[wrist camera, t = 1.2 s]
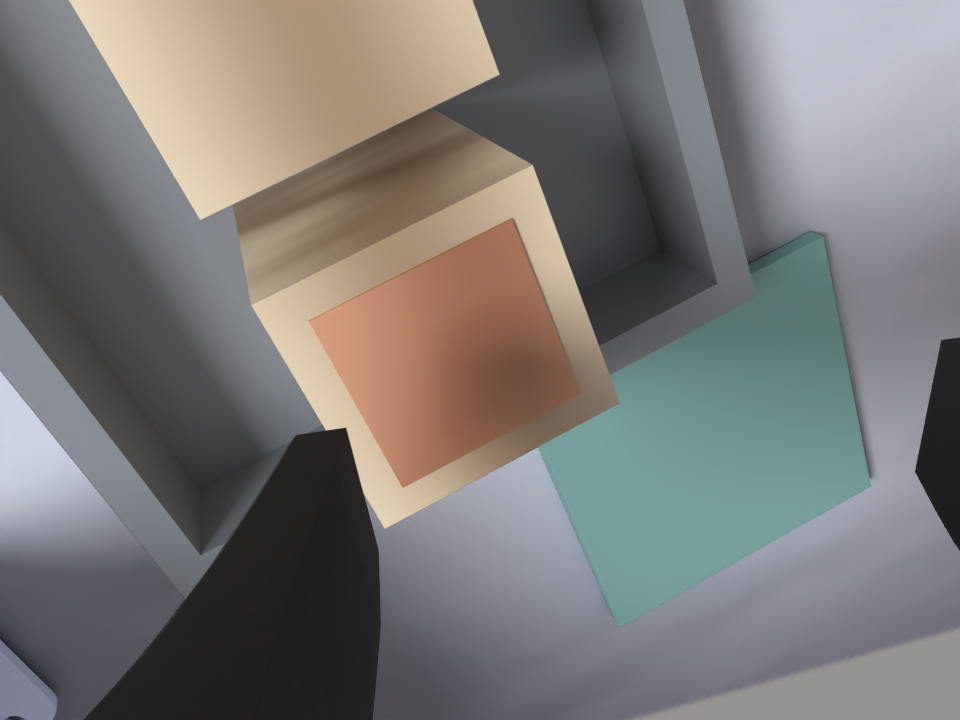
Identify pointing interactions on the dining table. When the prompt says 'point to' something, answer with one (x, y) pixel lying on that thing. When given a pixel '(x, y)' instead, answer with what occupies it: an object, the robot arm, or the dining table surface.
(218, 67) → the plain block
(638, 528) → the teal mat
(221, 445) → the parts bin
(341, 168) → the labelled block
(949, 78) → the dining table surface
